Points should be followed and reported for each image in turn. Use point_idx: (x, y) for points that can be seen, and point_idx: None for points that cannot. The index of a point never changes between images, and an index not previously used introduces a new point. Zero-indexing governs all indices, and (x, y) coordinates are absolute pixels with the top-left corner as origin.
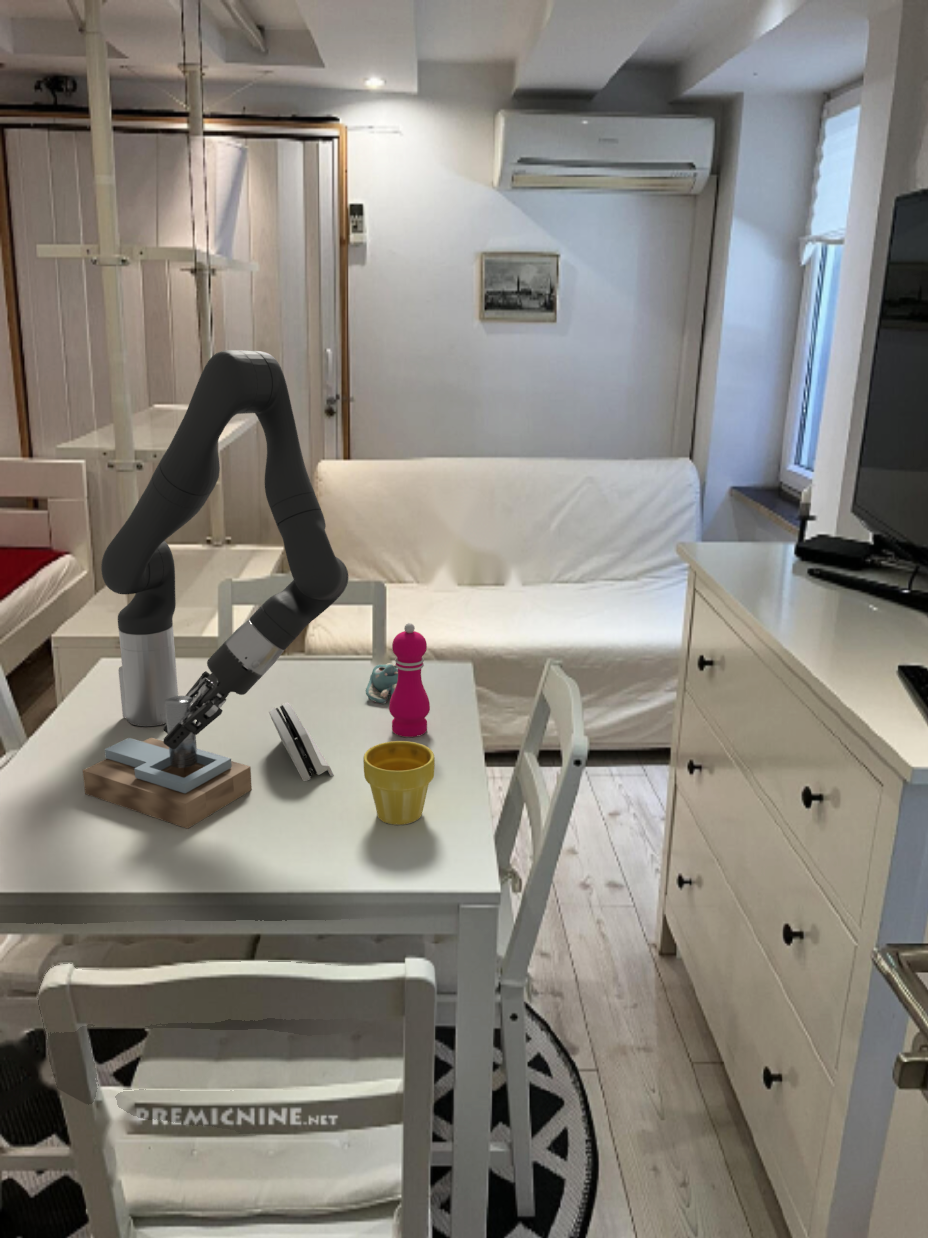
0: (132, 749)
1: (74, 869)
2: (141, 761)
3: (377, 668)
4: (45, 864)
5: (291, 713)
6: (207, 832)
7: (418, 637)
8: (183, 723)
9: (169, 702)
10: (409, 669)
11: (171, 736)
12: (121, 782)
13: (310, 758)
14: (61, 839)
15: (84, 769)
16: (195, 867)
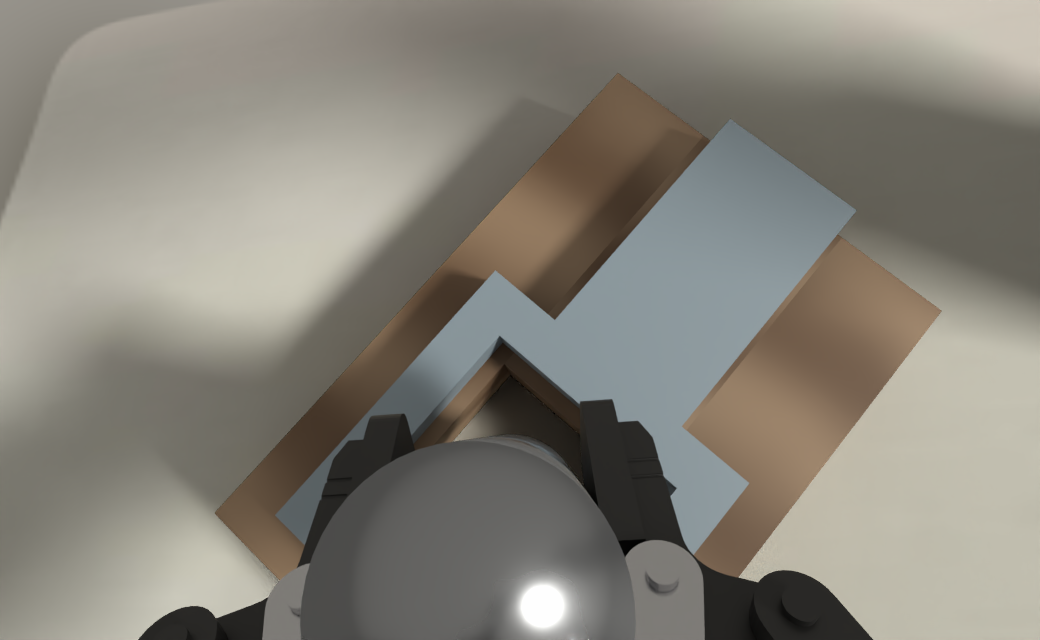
0: (713, 240)
1: (118, 170)
2: (578, 294)
3: None
4: (172, 90)
5: None
6: (228, 572)
7: None
8: (193, 621)
9: (434, 494)
10: None
11: (349, 475)
12: (474, 232)
13: None
14: (307, 107)
15: (623, 78)
16: (7, 535)
